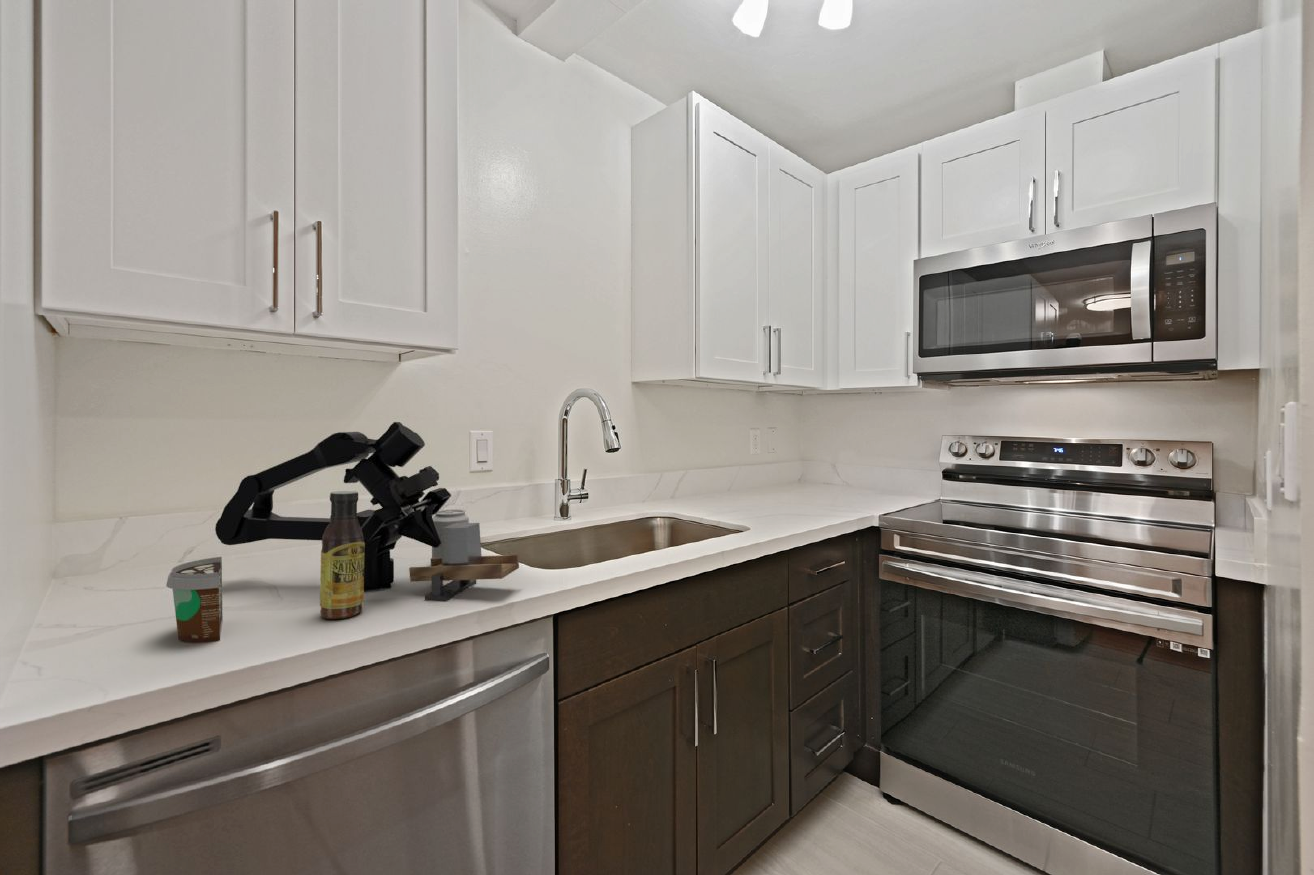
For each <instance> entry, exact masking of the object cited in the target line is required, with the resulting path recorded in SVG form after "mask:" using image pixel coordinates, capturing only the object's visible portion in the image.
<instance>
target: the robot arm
mask: <svg viewBox="0 0 1314 875" xmlns="http://www.w3.org/2000/svg"><path fill="white" fill-rule="evenodd" d="M425 445H426V444H425V441H424V440H423V437H422V436H420V435H419V433H417V432H414V431H413V430H412V429H411V428H409V427H407V426H406V425H403V423H401V422H400V421H394V422H392V424H390V426H389V427H388V429H387V430H386V431H385V432H384V433H383V434H382V435H381V436H380V437H379V438H378V439H374V438H369V437H368V436H367V435H365V434H364V433H362V432H359V431H343V432H342V431H340V432H335V433H332V434H331V435H329V436H327V437H326V438H324V439H323V440H322V441H319V442H318V443H317V444H316V445H315V446H314V447H313V448H312V449H311V450H309V451H307V452H305V453H303V454H300V455H298V456H296V457H293V458H291V459H289V460H286V461H284V462H282V463H279V464H277V465H274V466H272V467H269V468H267V469H265V470H262V471H259V472H258V473H255V474H250V475H247V476H245V477H244V478H242V480H241V481H240V483H239V486H238V488H237V491H236V492H235V493H234V495H233V496H232V497H231V499H230V500H229V501H228V502H227V503H226V505H225V506H224V508H223V510H222V513H221V516H220V518H219V519H218V520H217V522H216V523H215V529H214V530H215V535H216V537H217V538H218V540H219V541H220V544H223V545H225V546H236V545H242V544H249V543H255V542H259V541H260V542H261V541H264V540H265V541H266V540H272V539H273V540H294V541H296V540H297V541H298V540H299V541H322V537H323V534H324V531H325V528H326V527H327V526H328V525H329V523H330V522H331V519H330V518H329V517H303V516H302V517H300V516H299V517H298V516H296V517H295V516H281V515H278V514H276V513H274V512H272V511H273V509H274V503H273V501H274V499H273V497H274V492H275V490H278V489H280V488H283V487H285V486H288V485H289V484H292V483H294V482H297V481H299V480H301V479H304V478H307V477H309V476H312V475H313V474H315V473H318V472H321V471H322V470H325V469H330V468H335V467H338V466H344V465H348V464H353V463H356V464H355V465H354V466H353V468H345V471H344V472H345V474H344V477H343V483H344V484H356V483H358V482H359V483H360V484H361V485H362V486H363V488H364V489H365V490H366V491H367V492H368V493H369V494H370V495H371V497H372V498H371V499H370V500H369V502H370V503H371V505H373V506H375V505H378V504H379V506H380V507H381V508H378V509H365V510H362V511H359V512H358V511H357V519H358V522H359V525H360V527H361V529H362V533H363V538H364V542H365V552H364V592H368V591H377V590H387V589H391V588H392V584H394V583H395V572H394V571H395V566H394V565H395V563H394V558H393V557H391V551H392V550H394V549H395V547H396V544H397V542H398V541H399V540H400V539H401V538H402V537H405V538H408V539H411V540H414V541H417V542H419V543H422V544H425V545H427V546H429V547H431V548H432V547H434V548H437V547H439V546H440V545H441V541H440V538H439V536H438V533H437V530H436V528H435V525H434V522H433V516H435V515H436V513H437V512H438V511H440V510H442V508H443V506H444V505H445V504H446V503H447V502H448V501H449V500H450V498H452V494H451V493H450V492H449V491H448V490H447V489H446V488H445V487H438V488H435V489H432V490H430V491H428V492H427V493H426V494H425V492H424V491H426V490H428V489H430V488H432V487H437V486H438V485H439V483H438V482H437V481H439V480H440V473H439V472H438V471H437V470H436V469H435V468H433V466H432V465H429V466H425V467H423V468H422V469H419V471H418V473H415V474H413V475H410V476H409V477H408V476H407V475H402V476H399V475H398V474H397V473H396V471H395V470H394V469H393V468H396V467H399V468H403V467H405V466H406V465H407V463H408V462H410V461H411V459H413V458H414V457H415V456H416V454H418V453H419V452H420V451H421V450H422V449H423V448H424V447H425ZM369 455H370V456H369ZM424 495H425V496H424ZM423 496H424V497H423ZM421 498H422V499H421ZM420 499H421V500H420Z"/></svg>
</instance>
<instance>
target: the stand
mask: <svg viewBox="0 0 1314 875" xmlns="http://www.w3.org/2000/svg"><path fill="white" fill-rule="evenodd" d="M430 582H431V584H430V585H431V591H430V592H429V593H427V594H425V595H424V601H429V602H431V601H432V602H448V601H450V600H451V599H452V598H455V597H456V596H457V595H460V594H461V593H462V592H465V591H467V590H468V589H469V588H472V587H473V586H474V585H477V580H450V582H447V583H446V584H444V581H443V575H438V574H434V575H432V576H431V581H430Z"/></svg>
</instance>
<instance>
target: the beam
mask: <svg viewBox="0 0 1314 875" xmlns="http://www.w3.org/2000/svg"><path fill="white" fill-rule="evenodd" d="M481 557H482V565H456V566H444V565H443V564H442V558H432V557H431V558H430V566H411V567H409V569H408V570H409V571H408V572H409V581H410V582H411V583H415V582H416V583H418V582H431V576H432V575H434V574H438V575H443V582H444V581H445V582H446V581H447V582H448V581H450V582H451V581H453V580H476V581H477V580H501V579H503V578H505V577H507V576H509V575H511V574H512V573H514V572H515V571H517V570H519V568H520V562H519V555H518V554H504V555H503V554H499V555H481Z"/></svg>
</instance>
